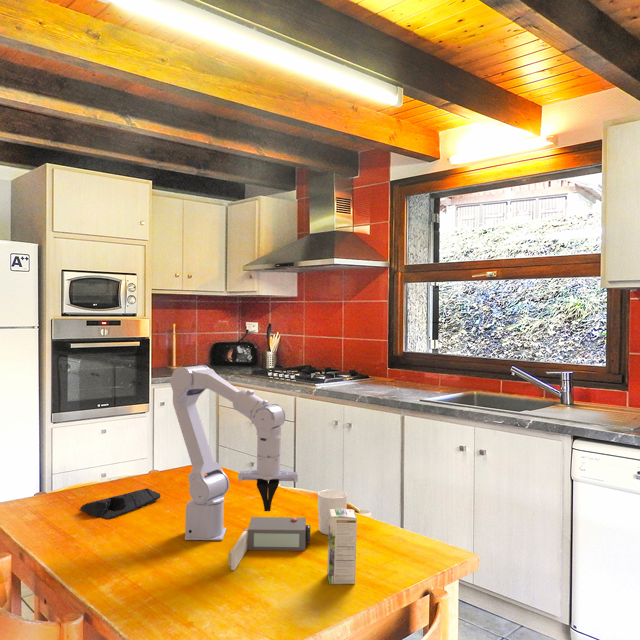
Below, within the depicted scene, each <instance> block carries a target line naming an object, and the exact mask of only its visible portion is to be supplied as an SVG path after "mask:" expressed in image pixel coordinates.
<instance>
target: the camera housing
mask: <svg viewBox="0 0 640 640" xmlns="http://www.w3.org/2000/svg"><path fill="white" fill-rule="evenodd" d="M306 519H307V518H306V517H293V516H292V517H290V516H287V517H284V516H281V517H279V516H278V517H276V516H275V517H272V516H268V517H267V516H251V518H250V522H249V525H248V528H247V529H248V538H247V551H298V552H301V551H304V552H305V551H306V543H310V542H311V525H310V524H307V523H306V522H307V521H306Z"/></svg>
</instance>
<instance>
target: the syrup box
mask: <svg viewBox="0 0 640 640" xmlns="http://www.w3.org/2000/svg"><path fill="white" fill-rule="evenodd" d="M357 529H358V518H357V514H356V512H355V509H351V508H350V509H349V508H347V509H330V510H329V535H327V536H328V537H327V541H328V542H327V580H328V585H354V584H356V572H357V571H356V565H357V563H356V562H357V537H358V536H357V533H358V530H357Z"/></svg>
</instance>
